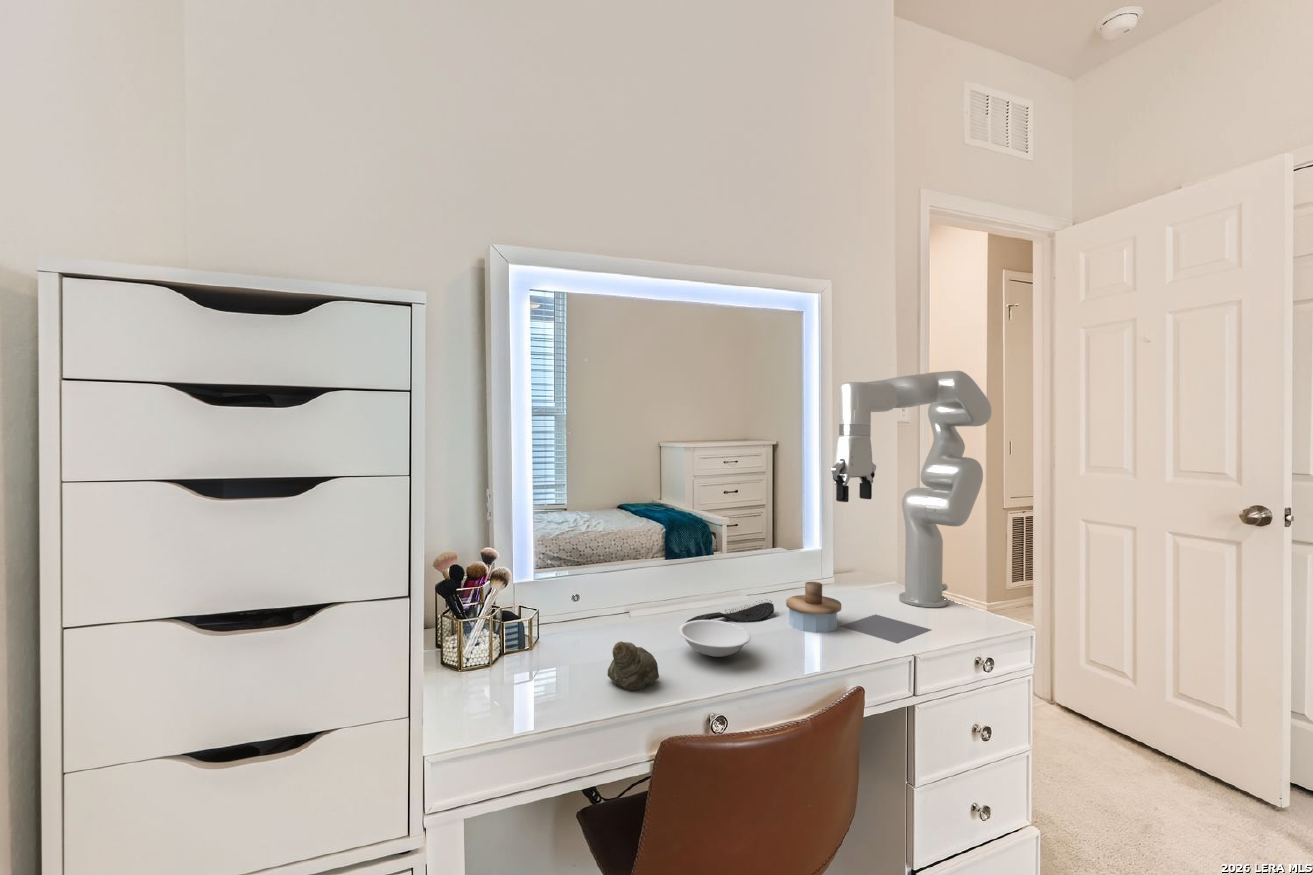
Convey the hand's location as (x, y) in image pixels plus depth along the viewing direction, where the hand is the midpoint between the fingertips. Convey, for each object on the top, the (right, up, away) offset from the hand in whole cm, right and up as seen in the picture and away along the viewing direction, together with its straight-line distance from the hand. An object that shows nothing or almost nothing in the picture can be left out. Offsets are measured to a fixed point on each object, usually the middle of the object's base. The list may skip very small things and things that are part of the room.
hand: (854, 500), depth 156 cm
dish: (-37, -31, -23) cm, 54 cm away
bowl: (-11, -30, -4) cm, 33 cm away
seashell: (-52, -31, -36) cm, 71 cm away
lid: (-11, -25, -5) cm, 28 cm away
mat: (+6, -30, -6) cm, 32 cm away
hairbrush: (-31, -31, +1) cm, 44 cm away
